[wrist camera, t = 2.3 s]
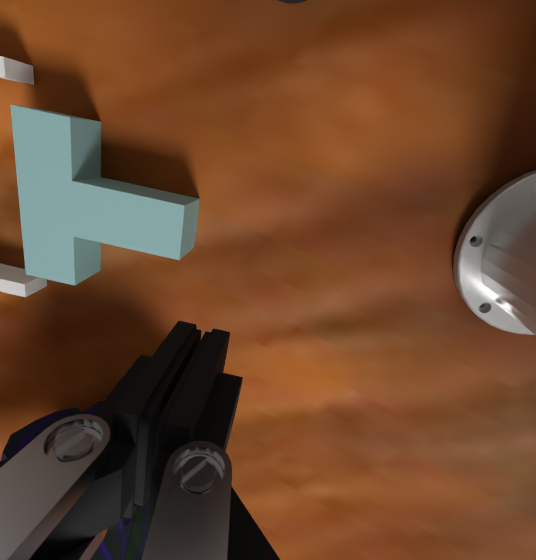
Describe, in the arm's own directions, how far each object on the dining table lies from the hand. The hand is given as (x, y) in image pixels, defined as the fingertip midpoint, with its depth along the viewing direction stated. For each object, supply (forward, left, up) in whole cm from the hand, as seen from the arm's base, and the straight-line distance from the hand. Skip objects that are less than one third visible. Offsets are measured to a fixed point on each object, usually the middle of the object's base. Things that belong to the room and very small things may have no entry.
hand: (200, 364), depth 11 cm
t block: (+11, 0, -17) cm, 20 cm away
